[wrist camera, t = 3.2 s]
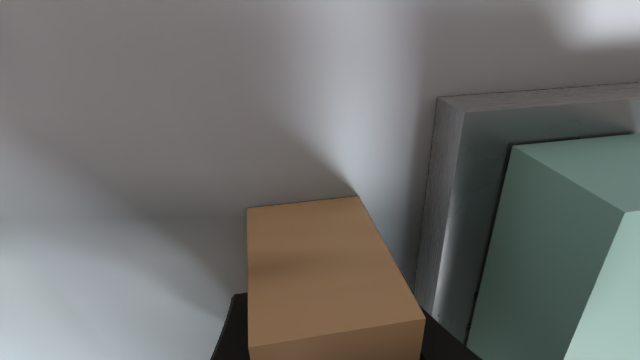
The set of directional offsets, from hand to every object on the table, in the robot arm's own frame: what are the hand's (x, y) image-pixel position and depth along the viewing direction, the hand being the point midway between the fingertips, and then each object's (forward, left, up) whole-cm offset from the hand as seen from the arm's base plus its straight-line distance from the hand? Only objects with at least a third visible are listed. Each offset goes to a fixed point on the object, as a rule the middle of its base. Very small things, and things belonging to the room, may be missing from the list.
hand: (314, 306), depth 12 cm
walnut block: (0, 0, -1) cm, 1 cm away
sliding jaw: (0, -7, 0) cm, 7 cm away
